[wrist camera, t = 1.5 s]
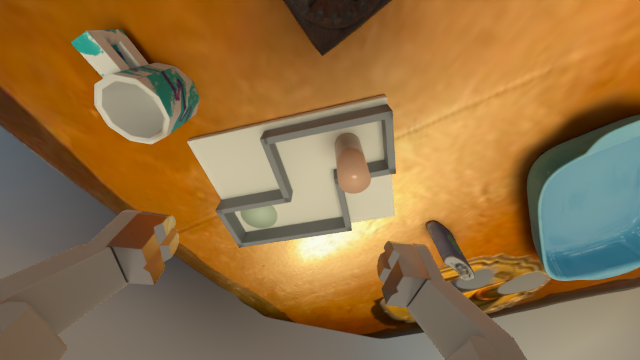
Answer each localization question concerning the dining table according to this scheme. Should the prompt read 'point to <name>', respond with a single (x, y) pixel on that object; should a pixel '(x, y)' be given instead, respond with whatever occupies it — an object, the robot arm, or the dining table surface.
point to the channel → (300, 171)
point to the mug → (136, 88)
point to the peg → (351, 164)
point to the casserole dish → (588, 204)
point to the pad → (260, 216)
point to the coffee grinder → (332, 19)
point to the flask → (449, 250)
